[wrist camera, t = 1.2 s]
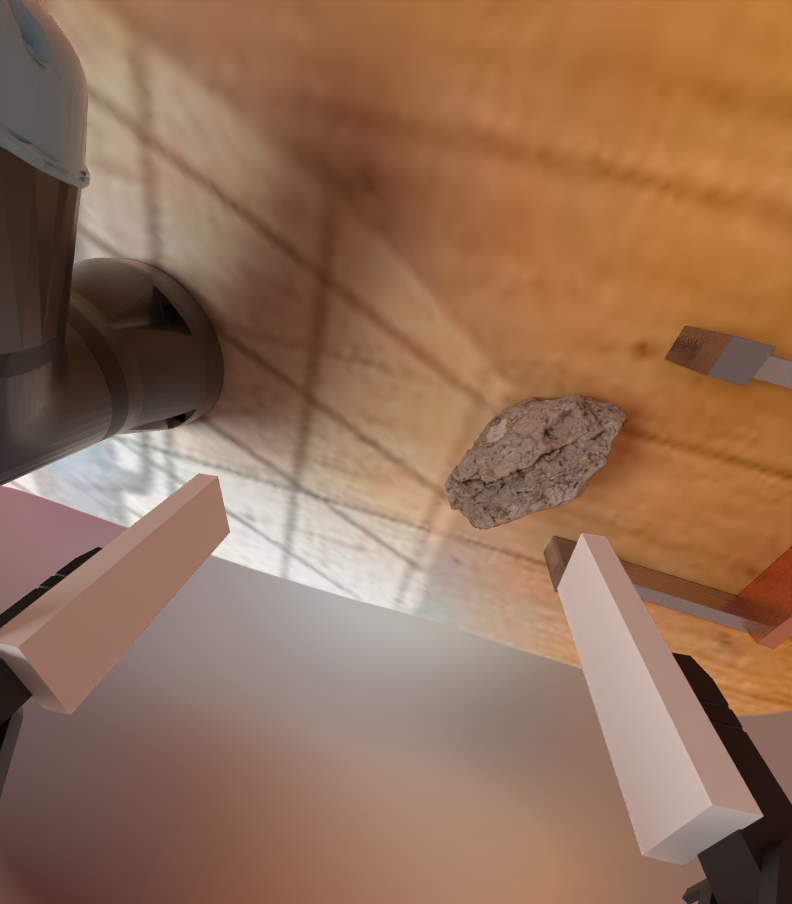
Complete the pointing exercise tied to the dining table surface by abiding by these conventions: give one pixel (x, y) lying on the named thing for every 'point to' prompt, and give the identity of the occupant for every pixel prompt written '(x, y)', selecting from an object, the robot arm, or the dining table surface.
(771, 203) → the dining table surface
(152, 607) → the robot arm
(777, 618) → the frame
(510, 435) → the rock
